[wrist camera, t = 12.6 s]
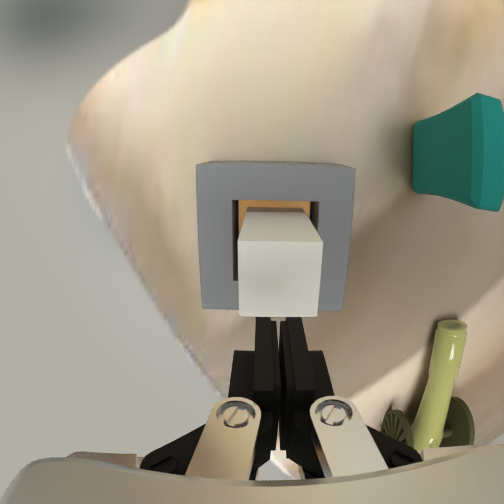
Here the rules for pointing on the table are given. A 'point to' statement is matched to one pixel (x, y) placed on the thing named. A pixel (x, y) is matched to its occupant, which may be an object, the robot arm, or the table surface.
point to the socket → (271, 188)
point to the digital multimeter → (462, 153)
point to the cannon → (437, 398)
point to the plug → (278, 263)
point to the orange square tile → (270, 203)
